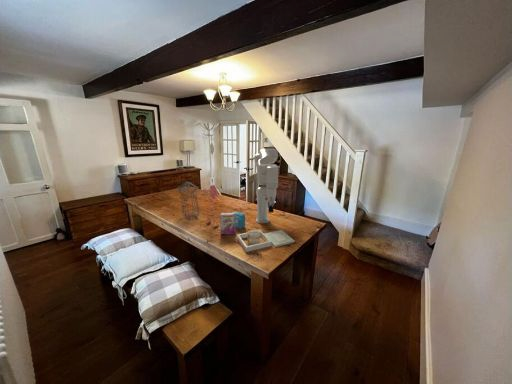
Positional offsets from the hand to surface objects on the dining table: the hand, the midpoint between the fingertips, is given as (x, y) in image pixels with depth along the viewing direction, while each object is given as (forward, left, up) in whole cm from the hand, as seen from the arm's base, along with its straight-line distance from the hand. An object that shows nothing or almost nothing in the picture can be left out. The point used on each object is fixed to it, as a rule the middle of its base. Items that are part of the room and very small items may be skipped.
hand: (271, 209), depth 133 cm
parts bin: (-7, -10, -26) cm, 29 cm away
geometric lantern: (-71, -47, -26) cm, 89 cm away
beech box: (-7, -10, -26) cm, 29 cm away
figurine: (-50, -28, -26) cm, 63 cm away
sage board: (-4, +9, -26) cm, 28 cm away
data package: (-36, -12, -26) cm, 46 cm away
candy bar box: (-28, -23, -26) cm, 45 cm away
